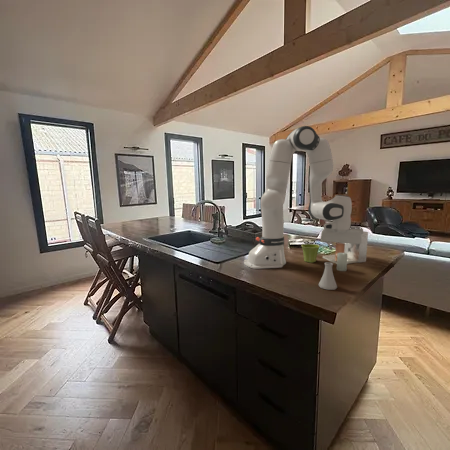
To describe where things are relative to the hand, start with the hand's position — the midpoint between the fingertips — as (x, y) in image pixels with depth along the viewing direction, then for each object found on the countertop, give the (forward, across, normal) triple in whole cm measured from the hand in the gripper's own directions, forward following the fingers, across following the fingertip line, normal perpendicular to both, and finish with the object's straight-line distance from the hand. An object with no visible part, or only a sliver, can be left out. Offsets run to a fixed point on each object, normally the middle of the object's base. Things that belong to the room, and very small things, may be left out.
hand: (340, 250), depth 139 cm
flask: (+6, +2, +41) cm, 41 cm away
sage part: (+5, -2, +16) cm, 17 cm away
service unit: (+5, -2, -2) cm, 6 cm away
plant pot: (+6, +14, +8) cm, 17 cm away
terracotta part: (+4, 0, 0) cm, 4 cm away
